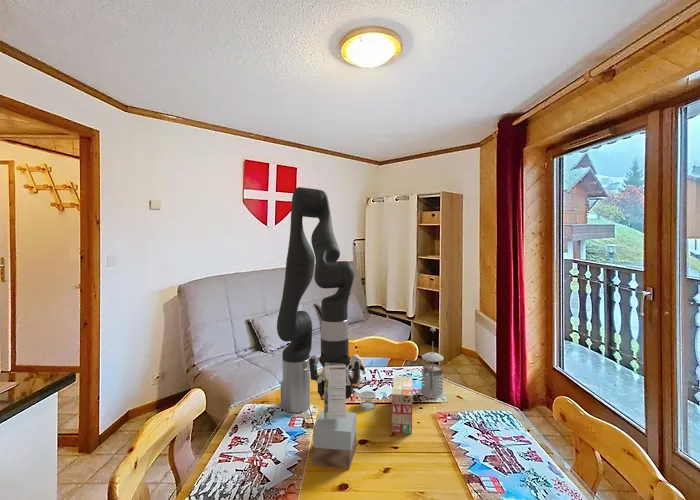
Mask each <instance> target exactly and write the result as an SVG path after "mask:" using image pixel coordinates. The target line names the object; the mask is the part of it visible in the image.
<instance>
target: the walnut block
mask: <svg viewBox="0 0 700 500" xmlns="http://www.w3.org/2000/svg"><path fill="white" fill-rule="evenodd" d="M356 449H357V432H356V433H355V437H354V441H353V445H352V449H351V451H347V450H336V449H325V448H314V447H313V445H312V446H311V464H312V465H313V466H319V467H320V466H322V467H330V468H336V469H337V468H338V469H347V470H350V469H351V466H352V463H353V459H354V456H355V452H356Z"/></svg>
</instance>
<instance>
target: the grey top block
mask: <svg viewBox="0 0 700 500" xmlns="http://www.w3.org/2000/svg"><path fill="white" fill-rule="evenodd" d="M355 433H356V434H357V412H348V411H347V412H346V417H345V418H331V419H325V418H324V409H323V410H321V411H320V413H319V415H318V417H317V420H316V421H315V424H314V425H313V428H312V446H313V447H314V448H325V449H336V450H347V451H351V449H352V445H353V441H354V437H355Z"/></svg>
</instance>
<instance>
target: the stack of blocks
mask: <svg viewBox="0 0 700 500" xmlns="http://www.w3.org/2000/svg"><path fill="white" fill-rule="evenodd" d="M412 379H413V378H412V377H411V376H399V375H394V376H393V378H392V388H391V423H390V424H391V433H396V434H407V435H408V434H409V435H412V434H413V433H412V432H413V380H412Z"/></svg>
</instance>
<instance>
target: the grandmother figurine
mask: <svg viewBox="0 0 700 500" xmlns="http://www.w3.org/2000/svg"><path fill="white" fill-rule="evenodd" d="M351 359H353V360H357V359H360V361H362V358H361V357H360V356H359V355H358V354H356V353H355V354H352V356H351ZM347 368H348V370H349V372H350V375H351V377H352V378H353V376H354V368H352V365H351V364H349V365H348V366H347ZM360 371H361V372H362V373H363V375H366V374H367V373H366V372H367V371H366V369H365V367H364V366H363V365H362V364H360ZM352 386H354V388H356V387H360V388H361V374H360V375H359V380H358V383H357V384H352Z"/></svg>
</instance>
